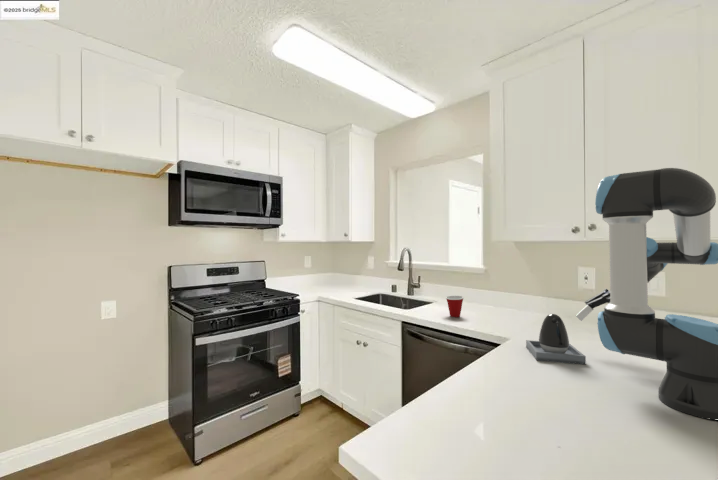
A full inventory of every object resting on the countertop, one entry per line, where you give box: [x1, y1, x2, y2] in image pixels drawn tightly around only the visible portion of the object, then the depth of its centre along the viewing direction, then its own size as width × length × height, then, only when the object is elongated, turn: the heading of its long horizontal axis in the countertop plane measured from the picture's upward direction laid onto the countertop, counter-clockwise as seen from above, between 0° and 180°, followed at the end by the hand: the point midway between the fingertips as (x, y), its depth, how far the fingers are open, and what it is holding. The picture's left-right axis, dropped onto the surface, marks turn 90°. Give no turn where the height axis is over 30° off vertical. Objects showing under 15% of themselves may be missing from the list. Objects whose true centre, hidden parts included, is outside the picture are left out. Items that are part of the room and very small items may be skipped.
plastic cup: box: [445, 295, 465, 318], centre depth 194 cm, size 11×11×12 cm
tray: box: [525, 339, 587, 365], centre depth 125 cm, size 16×16×3 cm
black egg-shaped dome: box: [538, 313, 570, 354], centre depth 124 cm, size 10×10×15 cm
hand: (588, 322), depth 125 cm, fingers open, 13 cm apart
